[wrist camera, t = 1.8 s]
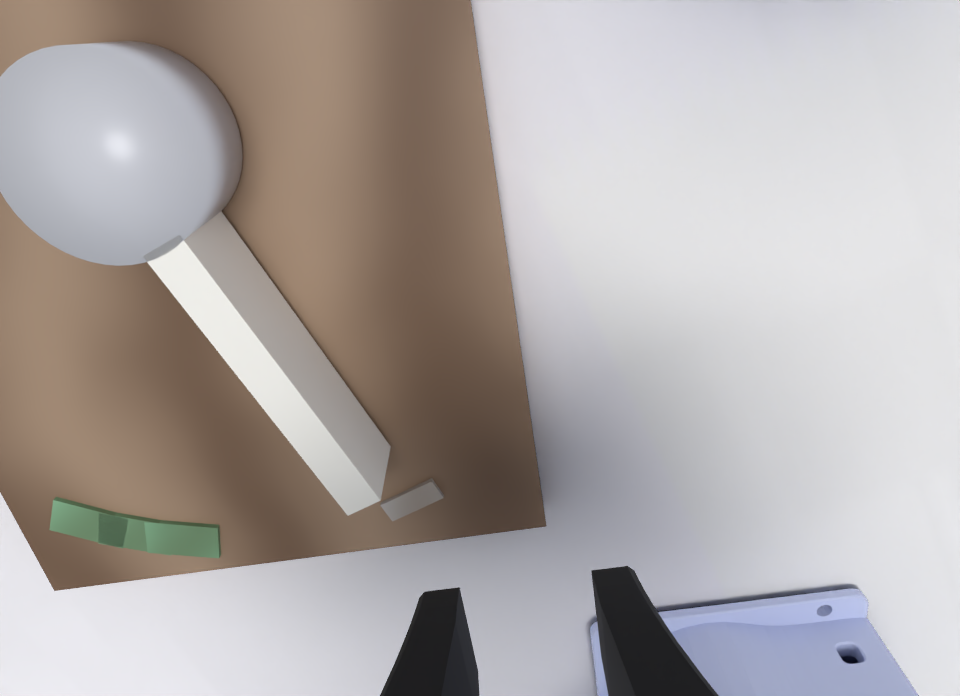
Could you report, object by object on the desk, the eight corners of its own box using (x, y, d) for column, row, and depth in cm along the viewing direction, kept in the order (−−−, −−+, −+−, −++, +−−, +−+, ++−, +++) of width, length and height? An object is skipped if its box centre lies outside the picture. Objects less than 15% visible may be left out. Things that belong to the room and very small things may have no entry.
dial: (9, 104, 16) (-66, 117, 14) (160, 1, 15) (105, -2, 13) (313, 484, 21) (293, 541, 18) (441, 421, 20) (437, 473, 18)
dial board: (446, -163, 15) (445, -176, 14) (543, 506, 23) (547, 529, 22) (-247, -33, 16) (-297, -38, 15) (70, 568, 23) (51, 594, 22)
